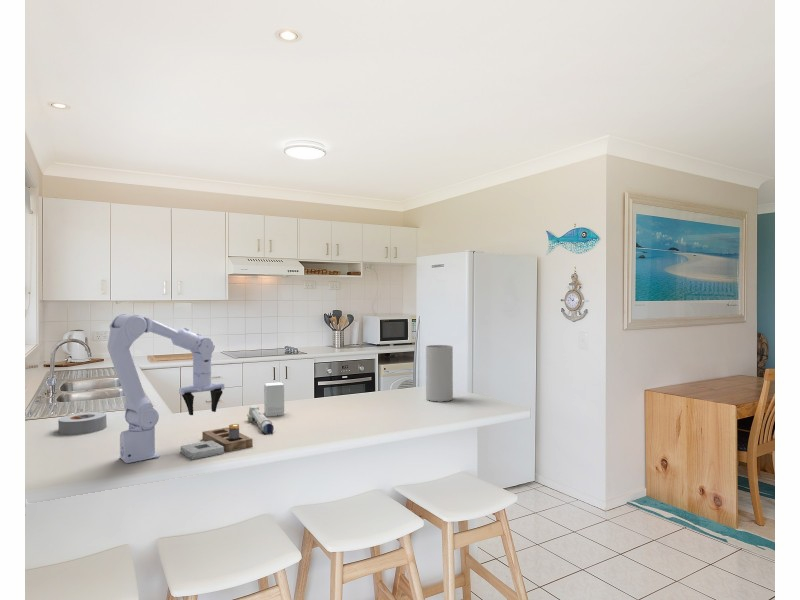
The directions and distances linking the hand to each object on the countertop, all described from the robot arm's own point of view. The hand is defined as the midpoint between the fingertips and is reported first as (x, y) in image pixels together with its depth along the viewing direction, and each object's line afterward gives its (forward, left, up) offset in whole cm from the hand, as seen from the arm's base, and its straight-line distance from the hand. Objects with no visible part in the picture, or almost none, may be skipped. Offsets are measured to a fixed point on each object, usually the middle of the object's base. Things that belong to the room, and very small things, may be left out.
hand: (202, 413), depth 179 cm
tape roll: (-27, +47, -10) cm, 55 cm away
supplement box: (+38, +22, -10) cm, 45 cm away
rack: (+6, -6, -10) cm, 13 cm away
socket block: (-5, -12, -10) cm, 16 cm away
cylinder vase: (+110, -3, -10) cm, 110 cm away
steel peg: (+6, -12, -10) cm, 17 cm away
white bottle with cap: (+25, +8, -10) cm, 28 cm away
